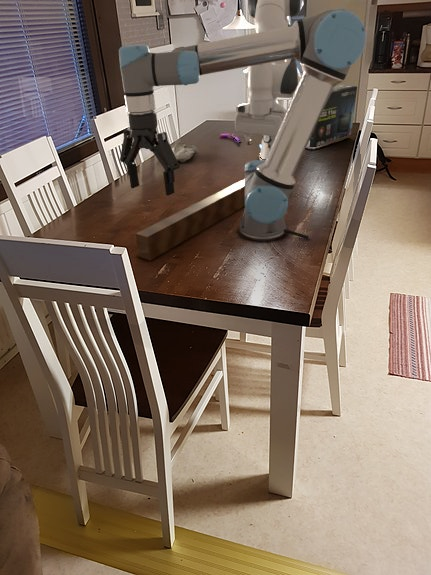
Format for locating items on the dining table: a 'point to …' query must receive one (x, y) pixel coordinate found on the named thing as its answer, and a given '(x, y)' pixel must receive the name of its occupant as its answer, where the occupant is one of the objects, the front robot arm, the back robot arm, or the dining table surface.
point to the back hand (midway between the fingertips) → (260, 146)
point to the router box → (335, 116)
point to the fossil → (184, 151)
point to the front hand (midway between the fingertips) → (152, 190)
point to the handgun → (230, 137)
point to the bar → (190, 221)
